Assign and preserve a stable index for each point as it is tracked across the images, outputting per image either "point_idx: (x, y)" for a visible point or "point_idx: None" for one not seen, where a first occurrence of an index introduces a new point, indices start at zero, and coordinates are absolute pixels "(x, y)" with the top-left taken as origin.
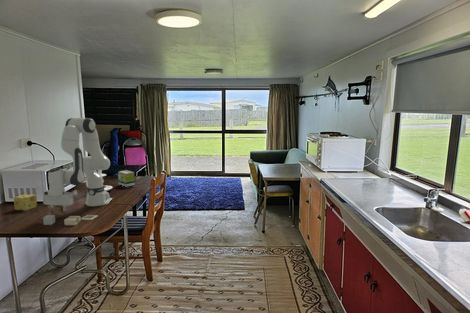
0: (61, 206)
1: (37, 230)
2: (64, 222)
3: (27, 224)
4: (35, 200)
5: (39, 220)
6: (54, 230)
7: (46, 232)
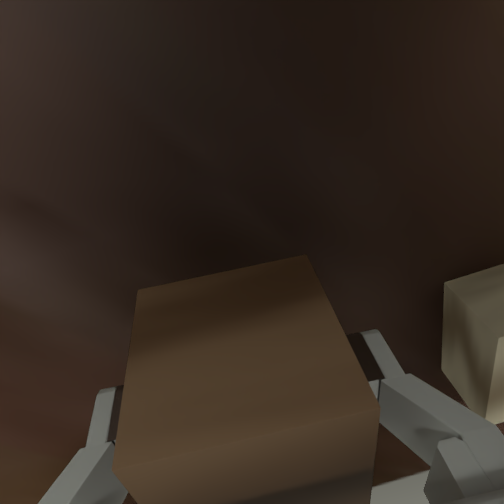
0: (356, 480)
1: None
2: (460, 394)
3: (40, 482)
4: None
5: (12, 395)
6: None
7: (384, 481)
